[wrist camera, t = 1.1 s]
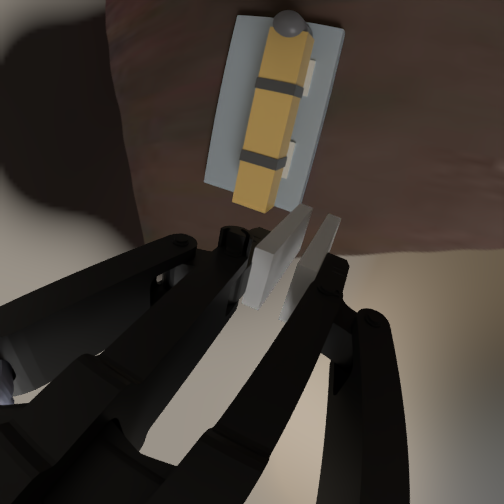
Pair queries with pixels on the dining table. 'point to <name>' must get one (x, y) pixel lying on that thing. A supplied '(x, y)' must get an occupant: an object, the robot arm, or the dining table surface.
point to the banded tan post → (273, 111)
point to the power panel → (241, 98)
